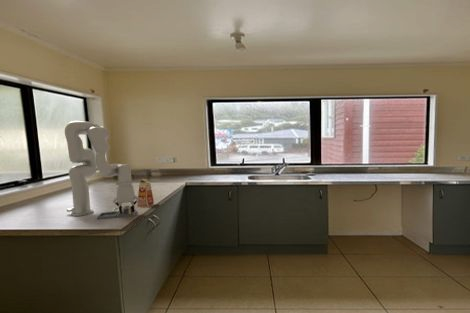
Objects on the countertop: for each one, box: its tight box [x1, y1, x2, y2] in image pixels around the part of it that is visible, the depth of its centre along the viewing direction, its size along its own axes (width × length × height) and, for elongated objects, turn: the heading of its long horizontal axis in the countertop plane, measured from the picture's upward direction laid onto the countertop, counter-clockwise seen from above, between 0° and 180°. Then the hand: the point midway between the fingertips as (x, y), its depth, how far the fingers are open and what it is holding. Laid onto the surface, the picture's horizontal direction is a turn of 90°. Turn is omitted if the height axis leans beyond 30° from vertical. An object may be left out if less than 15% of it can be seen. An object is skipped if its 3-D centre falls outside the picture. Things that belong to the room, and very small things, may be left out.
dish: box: [110, 206, 119, 212], centre depth 180 cm, size 10×10×2 cm
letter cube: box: [122, 204, 132, 215], centre depth 170 cm, size 5×5×5 cm
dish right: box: [116, 209, 138, 218], centre depth 170 cm, size 10×10×2 cm
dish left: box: [96, 211, 119, 220], centre depth 168 cm, size 10×10×2 cm
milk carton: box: [136, 178, 155, 208], centre depth 192 cm, size 9×9×20 cm
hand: (127, 211), depth 170 cm, fingers open, 6 cm apart
